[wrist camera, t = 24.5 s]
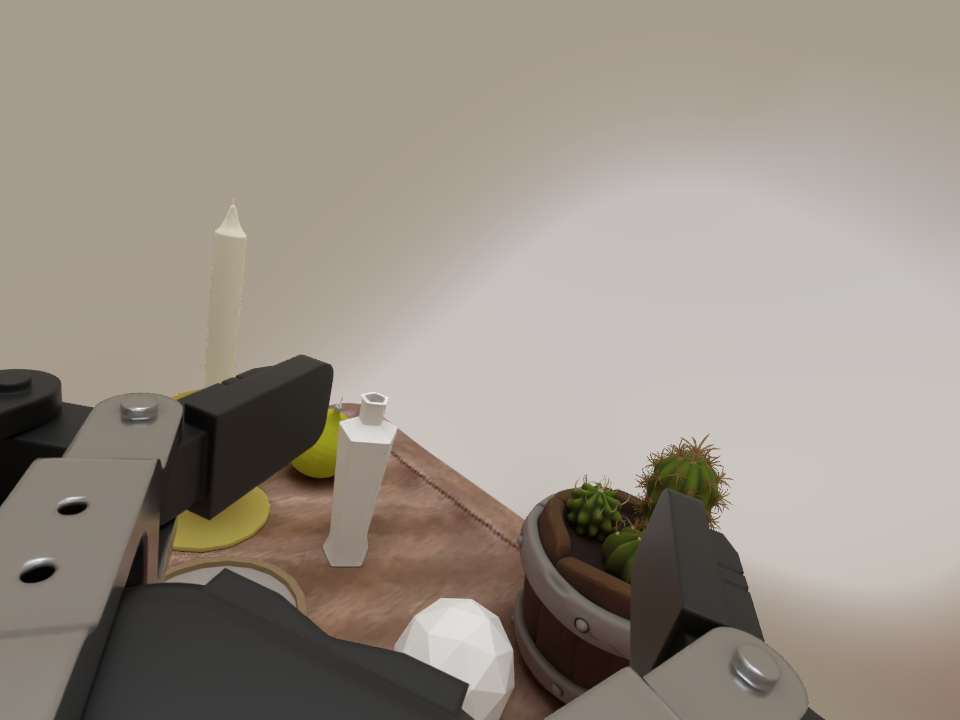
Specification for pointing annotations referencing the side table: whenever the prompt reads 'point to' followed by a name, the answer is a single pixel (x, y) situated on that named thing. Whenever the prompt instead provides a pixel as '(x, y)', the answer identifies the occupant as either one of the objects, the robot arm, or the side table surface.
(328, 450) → the ornament
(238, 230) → the candle
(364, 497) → the perfume bottle
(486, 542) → the side table surface
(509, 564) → the side table surface
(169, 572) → the alarm clock
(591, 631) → the flowerpot
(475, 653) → the geometric ball
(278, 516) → the side table surface
